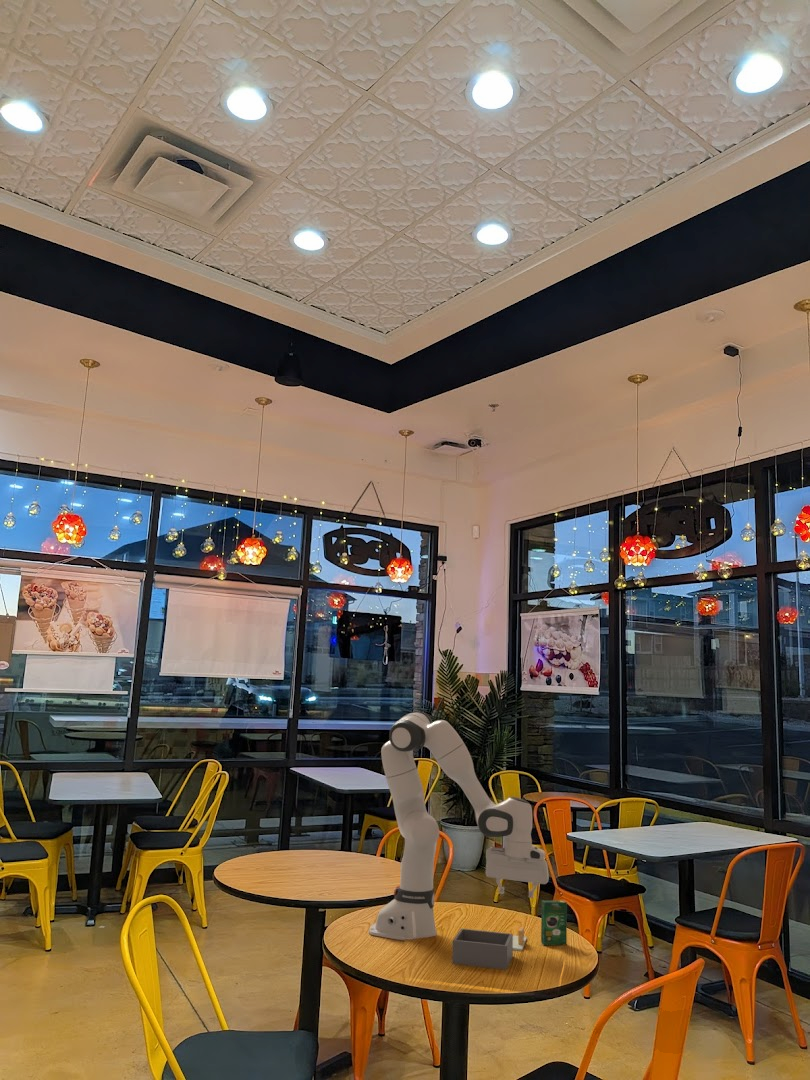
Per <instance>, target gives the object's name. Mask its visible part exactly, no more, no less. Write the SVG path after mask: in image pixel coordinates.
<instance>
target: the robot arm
mask: <svg viewBox="0 0 810 1080" xmlns="http://www.w3.org/2000/svg"><path fill="white" fill-rule="evenodd" d="M388 737H389V740H388V741H386V742H385V743H384V744H383V745H382V747H381V748H380V749H381V751H380V753H381V755H380V756H381V762H382V768H383V771H384V775H385V778H386V782H387V784H388V785H387V786H388V789H389V792H390V796H391V798H392V803H393V809H394V814H395V818H396V823H397V827H398V830H399V832H400V835H401V836H402V838H404V848H403V854H402V858H401V862H400V878H399V879H400V880H399V881H400V882H399V883H400V884H399V885H397V886H396V887H395V889H394V890H393V896H394V898H393V899H392V900H391V901H390V902H388V903H387V904H385V906H383V907H382V908H381V909H380V910H379V912H378V913H377V917H376V922H375V923H373V924H372V925H371V926H370V927H369V930H368V933H369V934H370V935H371V936H376V937H381V938H387V939H392V940H399V941H403V942H405V940H409V941H410V940H416V939H425V938H430V937H437V935H438V933H437V927H436V922H435V914H434V905H435V897H436V896H435V888H434V868H435V867H434V862H435V857H436V851H437V845H438V839H439V837H440V828H439V824H438V822H437V820H436V819H435V818H434V816H432V815H430V814H429V812H428V811H427V807H426V803H425V797H424V787H423V784H422V780H421V778H420V774H419V770H418V768H417V765H416V762H415V758H414V751H416V750H421V749H423V747H425V748H427V749H428V750H429V751H430V753H432V754H431V755H432V756H433V758H434V759H435V762H436V763H437V764H438V765H439V767H440V769H442V772H444V774H445V775H446V776H447V777H448V778H450V779H451V780H453V781H454V782H455V783H457V785H458V786H459V787H460V788H461V790H462V791H463V792H464V795H465V796H466V798H467V799H468V800H469V803H470V804H471V806H472V808H473V810H474V811H473V812H474V818H475V822H476V825H477V827H478V829H479V832H480V833H481V834H482V835H484V836H485V837H487V838H490V839H493V838H494V839H495V838H496V839H497V838H501V837H504V847H495V846H490V847H488V848H487V849H486V851H485V859H486V865H485V875H486V877H487V878H492V879H495V883H496V884H497V887H498V893H499V894H502V895H504V894H505V886H502V884H501V881H502V880H509V881H510V880H511V881H516V882H517V881H518V882H525V883H532V887H533V888H532V889H531V890H529V889H528V894H527V895H528V898H534V892H535V890H536V889H537V887H538V885H546V884H547V883H548V882H549V879H550V878H549V876H550V875H549V865H548V862H547V860H546V859H545V857H546V851H545V850H544V849H541V848H539V847H537V846H535V845H533V839H532V835H531V834H532V829H533V809H532V804H530V802H529V801H527V800H526V799H524V798H520V797H516V796H510V797H508V798H507V799H505V800H503V801H501V802H499V803H496V802H494V801H493V800H492V799H491V798H490V797H489V796H488V794H487V792H486V791H485V789H484V788H483V786H482V784H481V782H480V781H479V779H478V777H477V774H476V772H475V768H474V767H475V766H474V762H473V759H472V756H471V754H470V752H469V750H468V747H467V746H466V743H465V742H464V741H463V739H462V738H461V736H460V735H459V734H458V732H457V730H455V728H454V727H453V726H452V725H451V724H450V723H449V722H448V721H447V720H444V719H438V720H435V721H433V720H432V718H431V717H430V715H429V714H428V713H425V712H424V711H420V710H419V711H418V710H416V711H411V712H410V713H407V714H404V715H403V716H402V717H400V719H398V720H397V721H395V722H394V724H392V726H391V728H390V730H389V734H388Z"/></svg>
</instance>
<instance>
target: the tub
mask: <svg viewBox="0 0 810 1080" xmlns="http://www.w3.org/2000/svg"><path fill="white" fill-rule="evenodd" d="M513 935H514V934H513V933H508V932H497V931H490V930H489V931H488V930H481V929H480V930H479V929H469V928H460V929H459V931H457V933H456V935H455V936H454V937H453V939H452V959H451V961H452V965H453V964H454V965H461V966H462V965H463V966H469V967H470V966H472V967H480V968H488V969H496V970H504V971H508V968H509V966H510V964H511V961H512V958H513V957H514V953H513V951H514V950H513Z"/></svg>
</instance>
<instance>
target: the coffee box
mask: <svg viewBox="0 0 810 1080" xmlns="http://www.w3.org/2000/svg"><path fill="white" fill-rule="evenodd" d="M567 914H568V904H567V901H565V900H541V922H540V924H541V926H540V927H541V928H540V929H541V930H540V931H541V932H540V933H541V936H540V938H541V939H540V942H541V943H542V944H541V945H542V946H548V945H550V946H567V941H568V939H567V938H568V937H567V935H568V933H567V932H568V929H567V926H568V925H567V921H568V919H567V918H568V917H567V916H568V915H567Z"/></svg>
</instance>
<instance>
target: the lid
mask: <svg viewBox="0 0 810 1080" xmlns="http://www.w3.org/2000/svg"><path fill="white" fill-rule="evenodd" d="M517 932H518V933H517V934H518V935H514V934H513V951H517V952H518V951H519V952H523V950H524V947H525V945H526V942H527V938H528V937H527V936H525V926H519V929H518V931H517Z"/></svg>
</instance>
